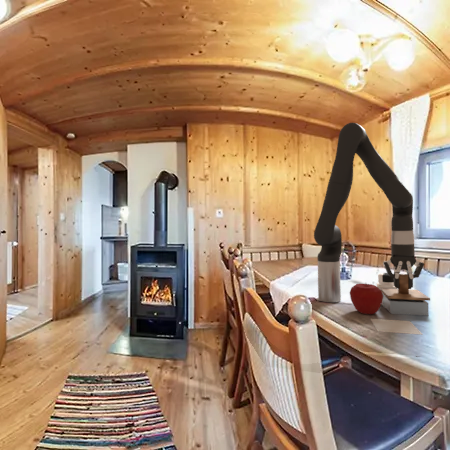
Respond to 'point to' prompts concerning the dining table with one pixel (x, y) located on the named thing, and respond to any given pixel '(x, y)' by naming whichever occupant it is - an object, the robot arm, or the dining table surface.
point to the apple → (366, 298)
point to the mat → (395, 326)
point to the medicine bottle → (385, 282)
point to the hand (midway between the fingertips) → (403, 288)
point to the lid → (404, 291)
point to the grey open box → (405, 306)
